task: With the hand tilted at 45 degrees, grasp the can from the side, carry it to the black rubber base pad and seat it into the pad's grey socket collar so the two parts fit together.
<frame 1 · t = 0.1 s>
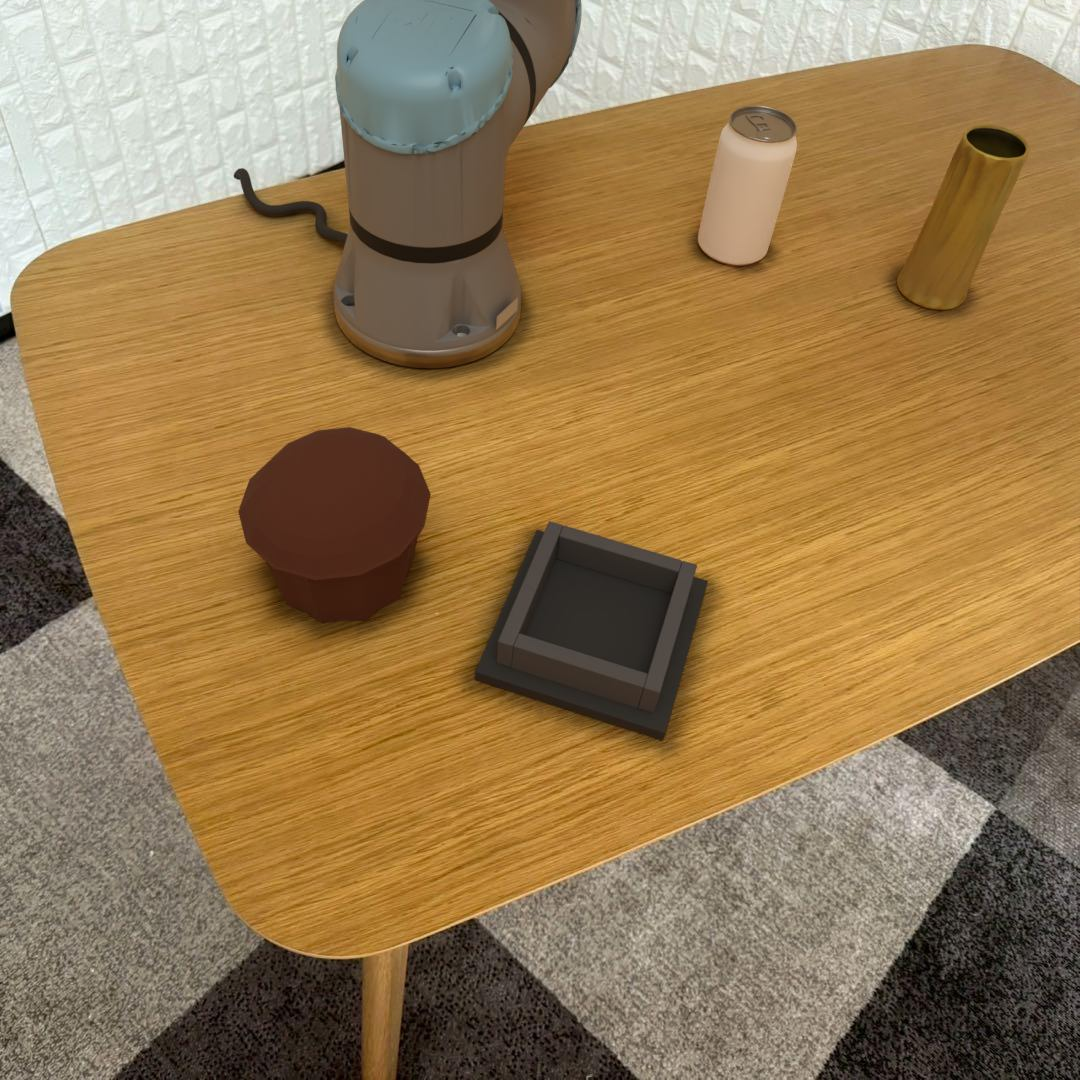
can: (731, 248, 93), on the table
muffin: (344, 569, 67), on the table
socket pad: (594, 632, 65), on the table
vase: (929, 291, 91), on the table
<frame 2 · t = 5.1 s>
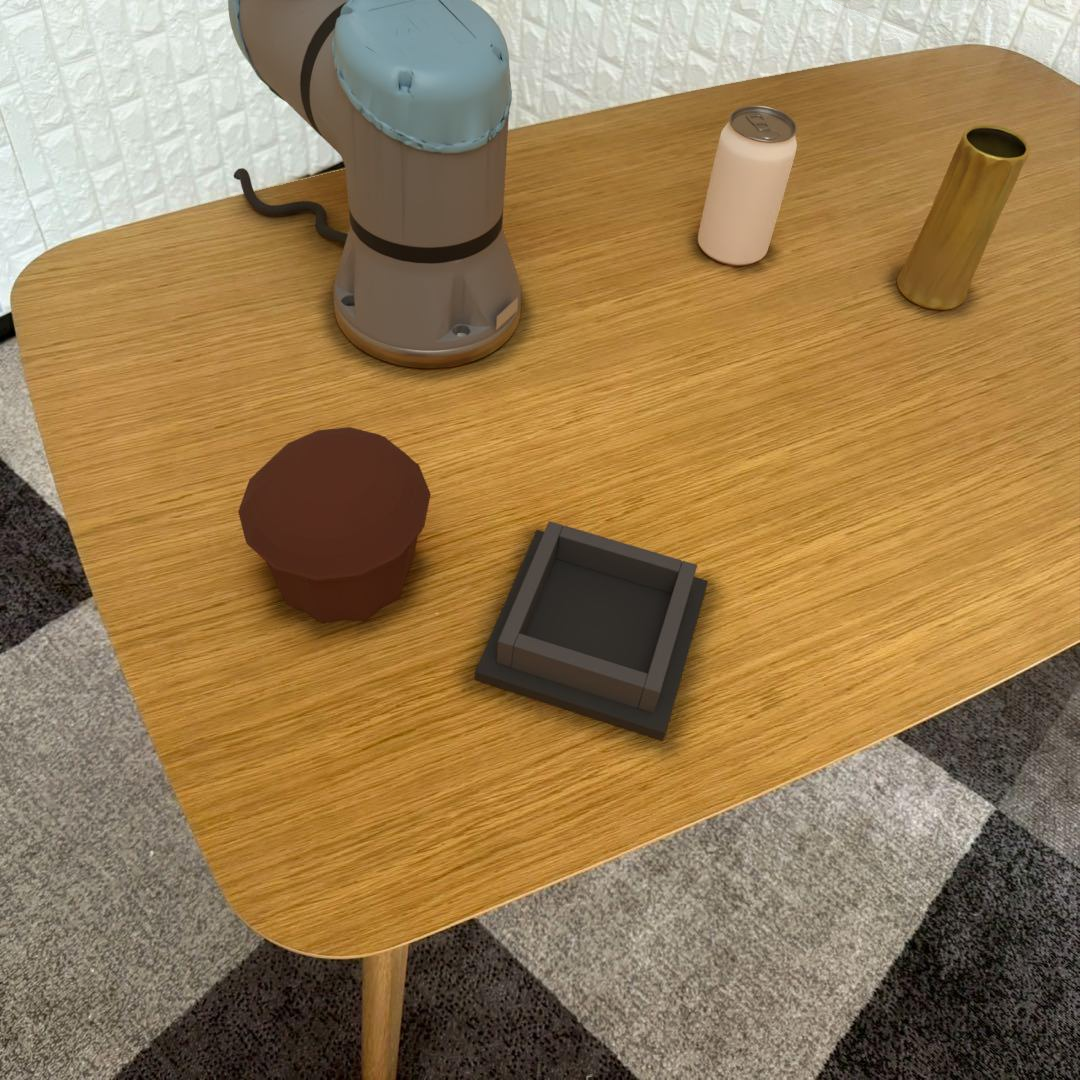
nothing on the table moved.
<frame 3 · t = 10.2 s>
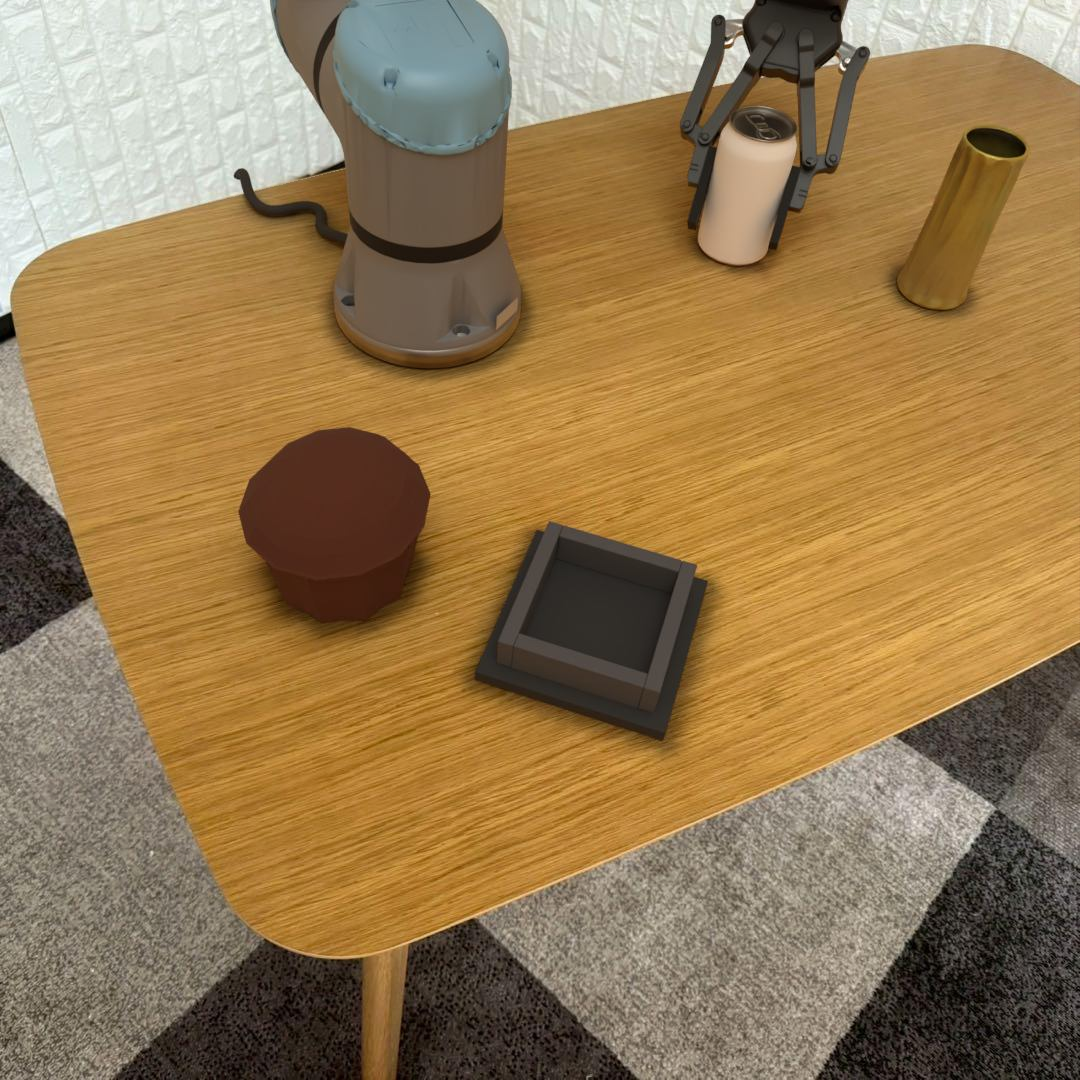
hand: (732, 235, 88), 3 cm above the table, tool tilted 45°, fingers closed on can, 6 cm apart
can: (731, 248, 93), on the table, touching gripper
everything else where it was.
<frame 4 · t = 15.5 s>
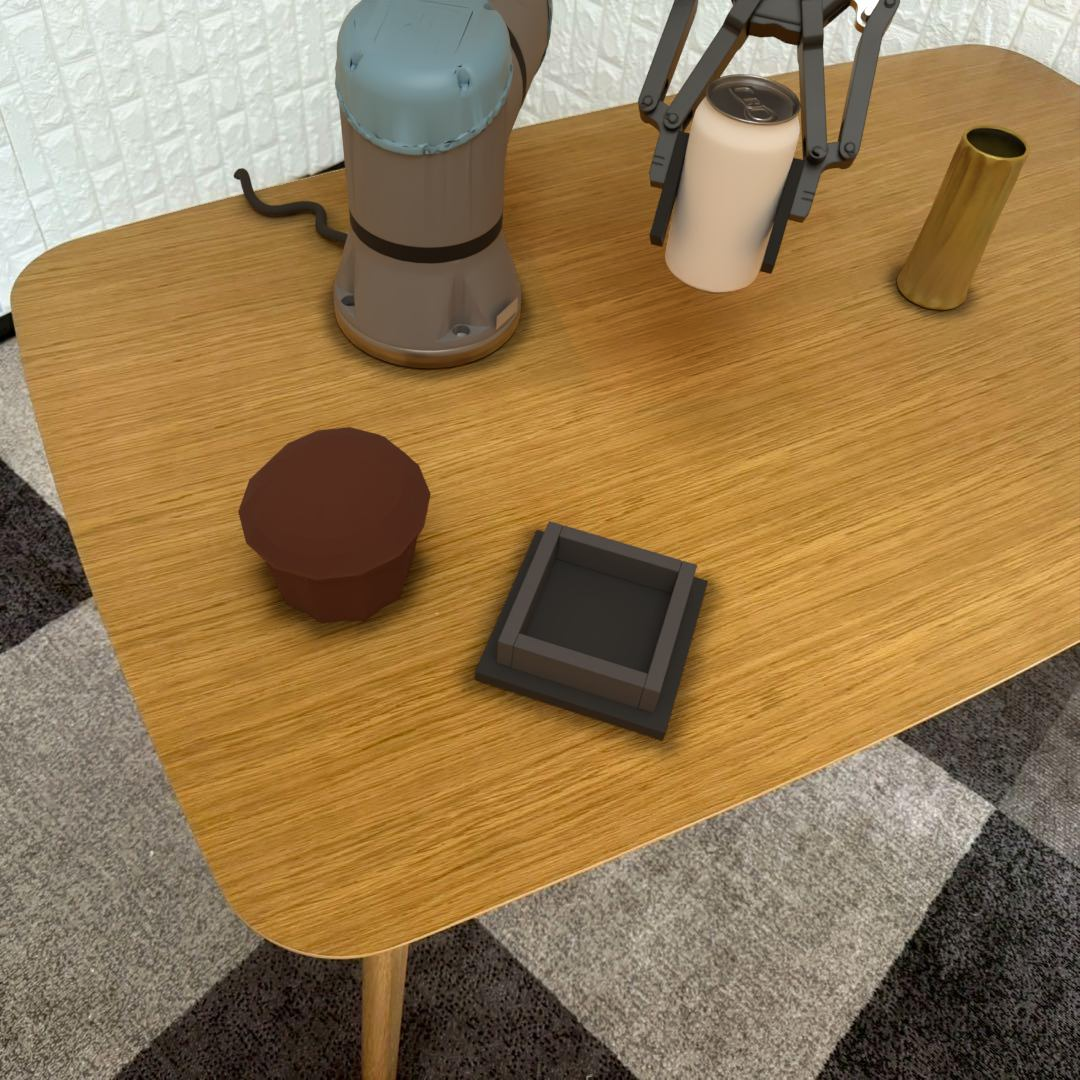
hand: (711, 254, 64), 16 cm above the table, tool tilted 45°, fingers closed on can, 6 cm apart
can: (709, 269, 69), point 13 cm above the table, touching gripper
everything else where it was.
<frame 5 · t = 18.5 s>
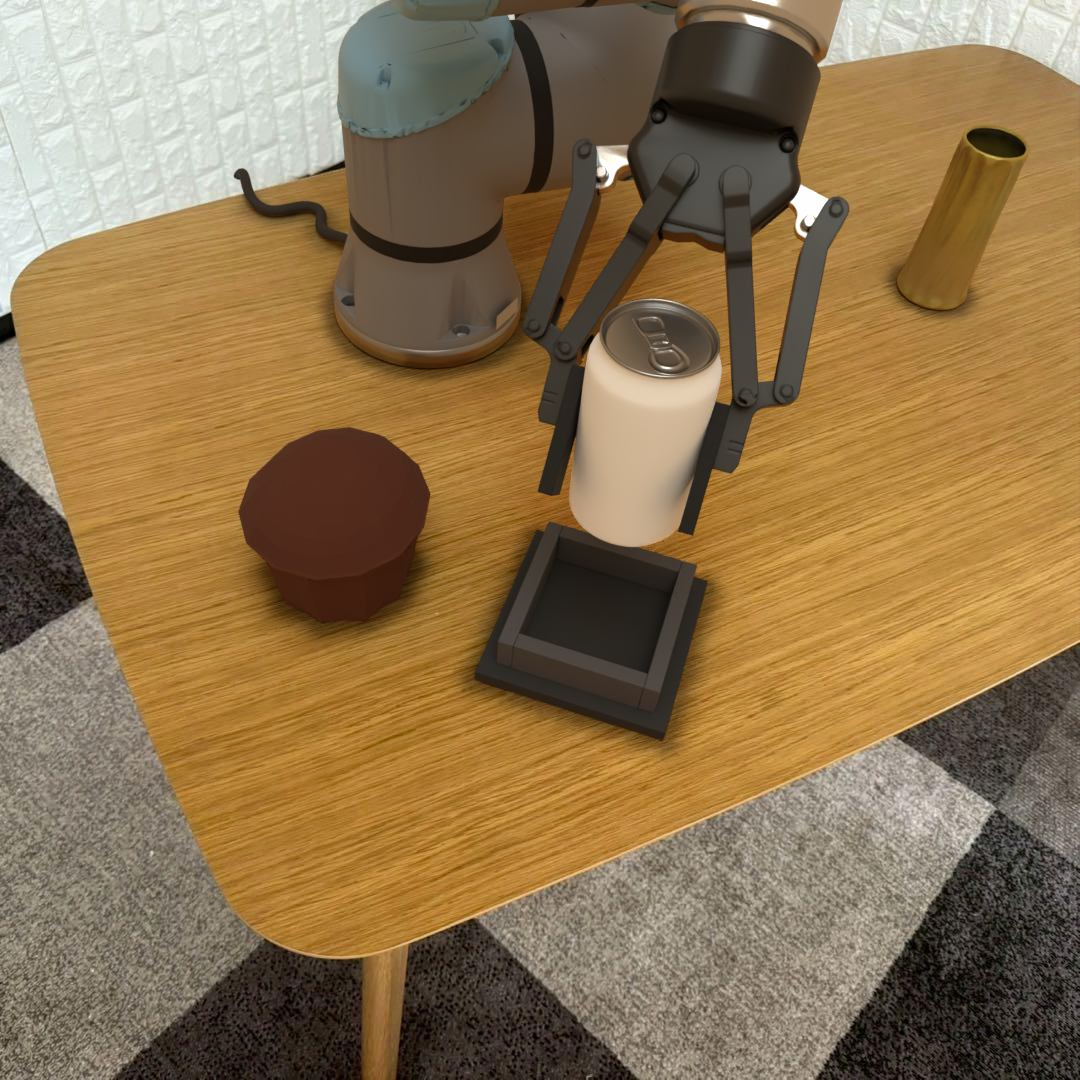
hand: (617, 511, 51), 16 cm above the table, tool tilted 45°, fingers closed on can, 6 cm apart
can: (625, 508, 56), point 12 cm above the table, touching gripper
everything else where it was.
when the fingers open (6 cm above the table, at t = 21.2 s): can drops 1 cm, resting on socket pad.
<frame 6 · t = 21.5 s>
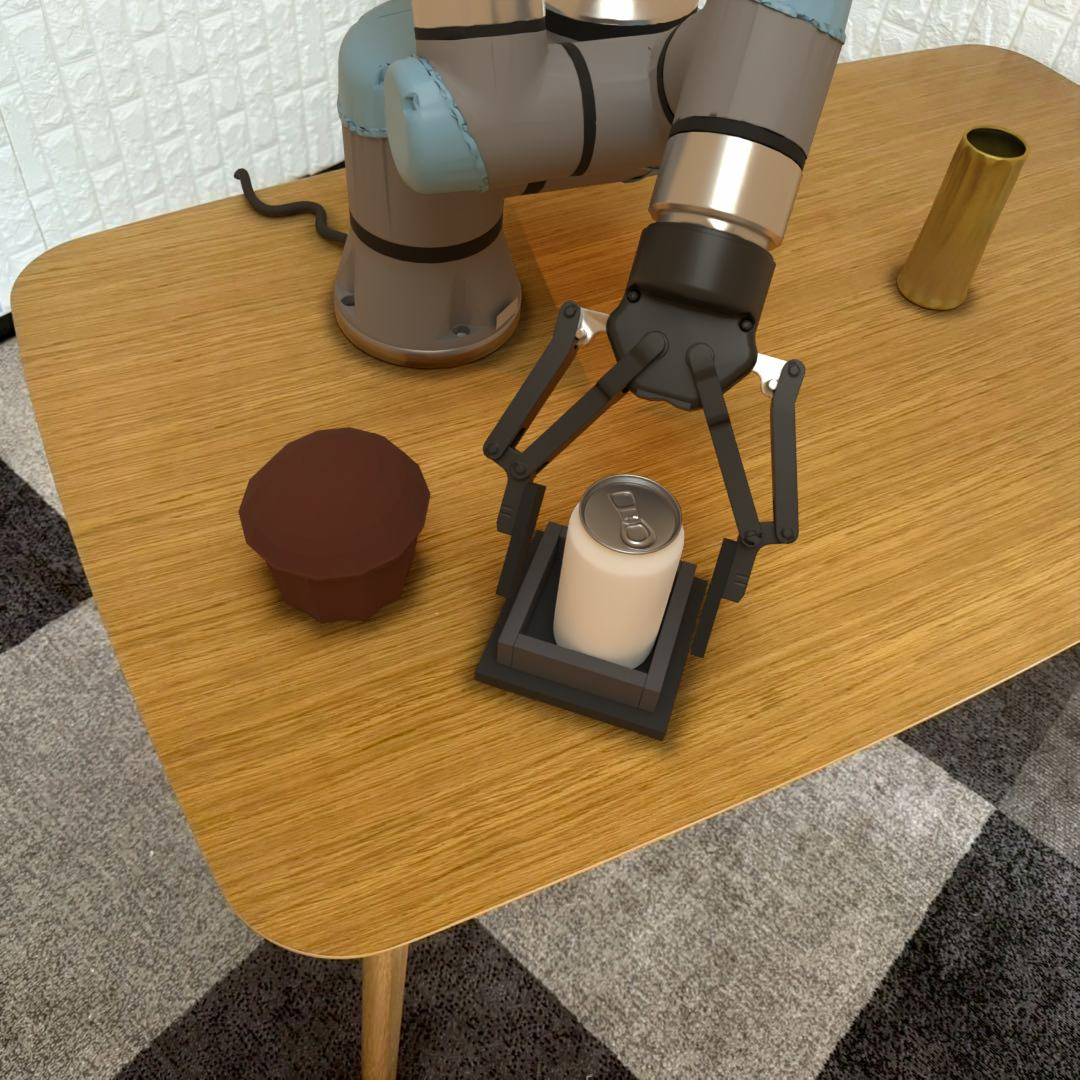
hand: (600, 622, 58), 7 cm above the table, tool tilted 45°, fingers open, 11 cm apart
can: (602, 636, 64), point 1 cm above the table, touching socket pad
everything else where it was.
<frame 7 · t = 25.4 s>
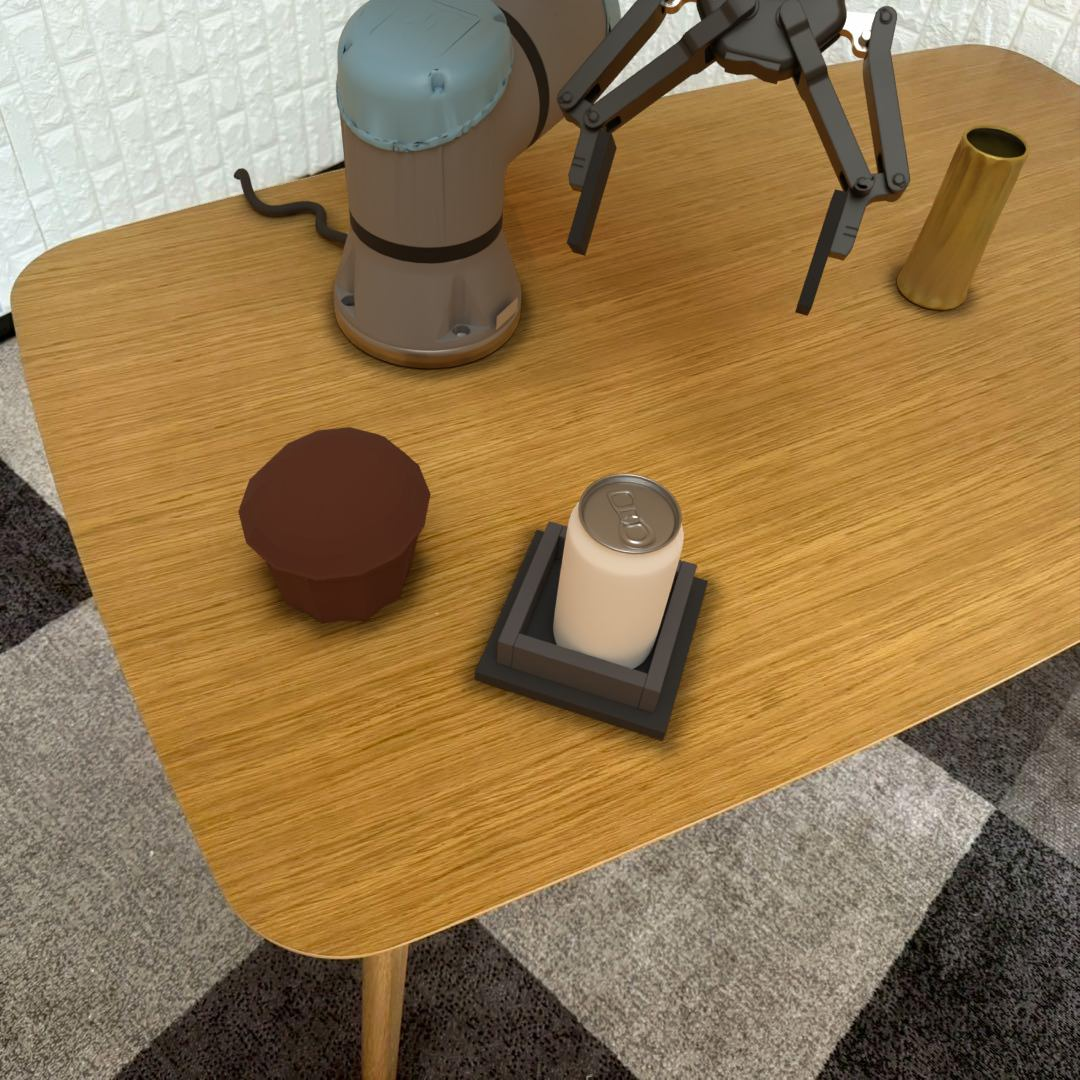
hand: (687, 280, 59), 18 cm above the table, tool tilted 45°, fingers open, 13 cm apart
nothing on the table moved.
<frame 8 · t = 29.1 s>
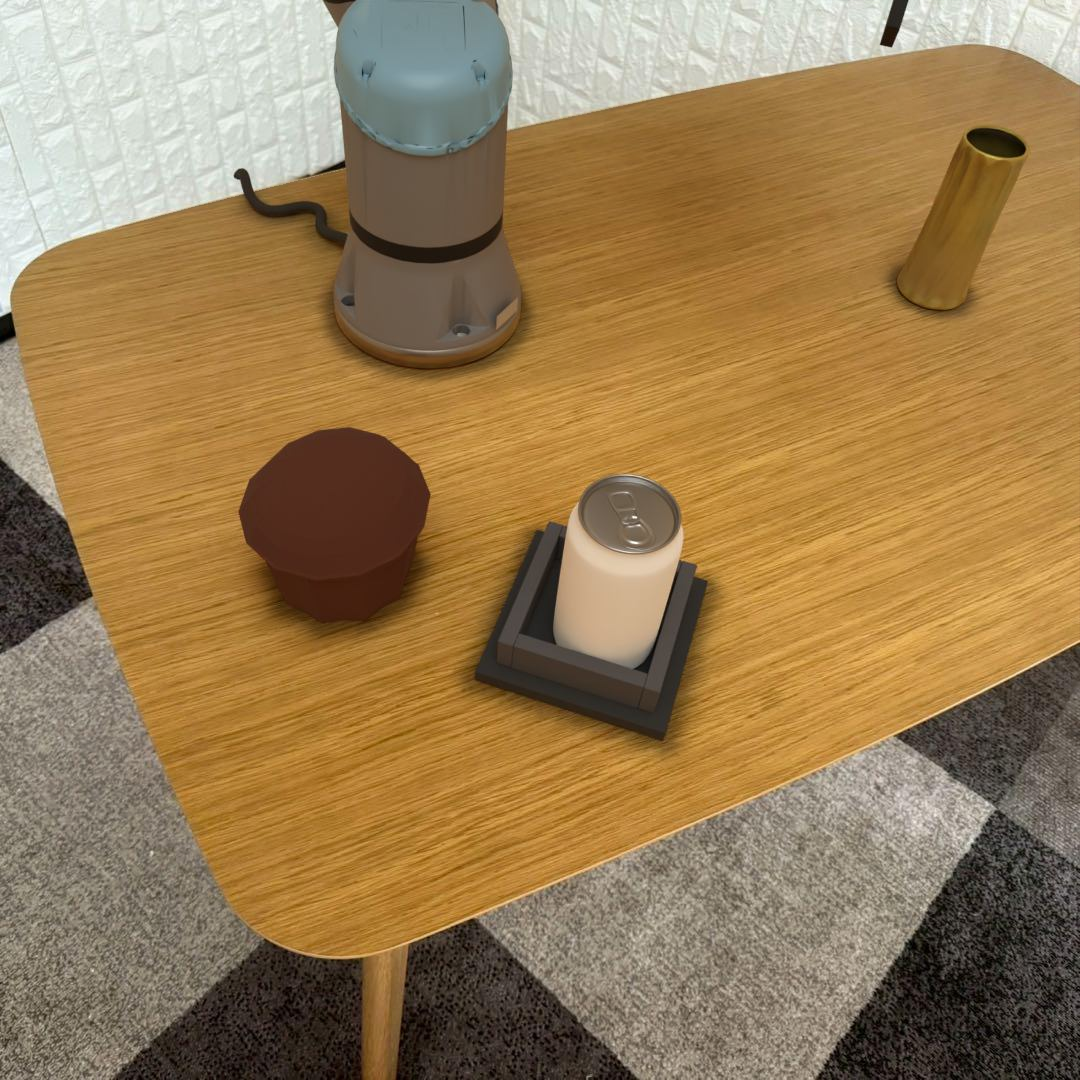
hand: (775, 13, 61), 28 cm above the table, tool tilted 45°, fingers open, 13 cm apart
nothing on the table moved.
at the end: can 0.8 cm off-centre on the socket pad, point 0.8 cm above the socket pad's base; can tilted 0°; the gripper is holding nothing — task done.
